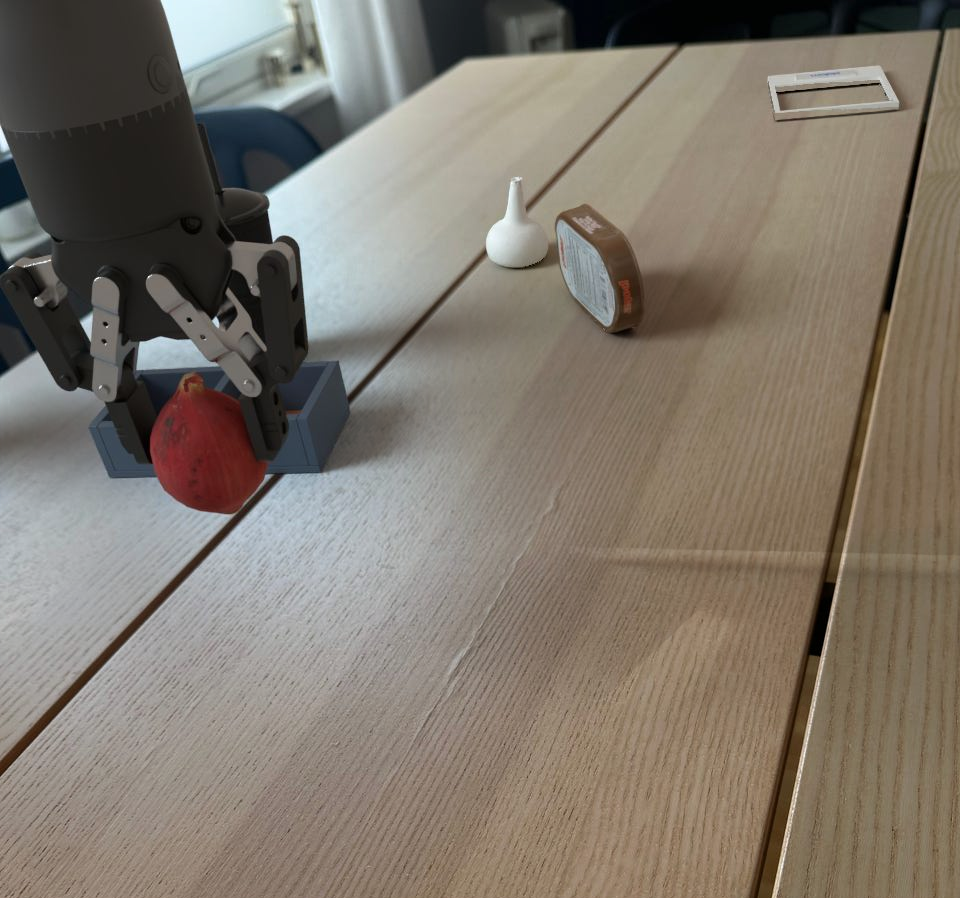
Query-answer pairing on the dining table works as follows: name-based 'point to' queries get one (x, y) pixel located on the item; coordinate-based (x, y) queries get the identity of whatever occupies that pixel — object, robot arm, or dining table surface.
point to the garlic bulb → (516, 234)
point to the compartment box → (307, 400)
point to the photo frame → (834, 76)
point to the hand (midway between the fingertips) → (210, 454)
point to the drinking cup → (241, 229)
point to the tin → (600, 268)
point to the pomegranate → (205, 449)
